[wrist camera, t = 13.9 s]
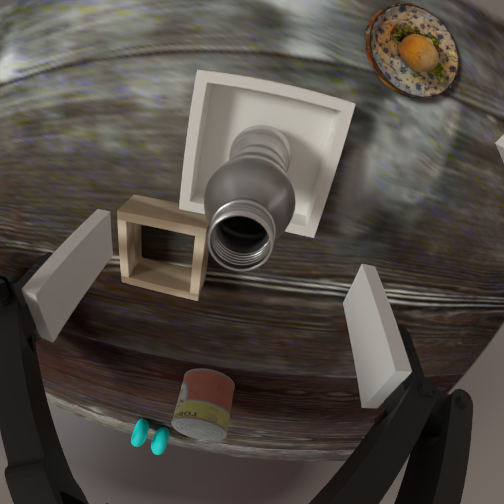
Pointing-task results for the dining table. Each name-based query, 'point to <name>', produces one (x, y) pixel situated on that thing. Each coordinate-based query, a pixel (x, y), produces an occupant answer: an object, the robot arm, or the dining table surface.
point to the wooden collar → (156, 272)
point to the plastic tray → (272, 114)
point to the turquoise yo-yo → (158, 440)
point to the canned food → (204, 405)
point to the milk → (500, 146)
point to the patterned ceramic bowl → (412, 51)
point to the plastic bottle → (250, 199)
